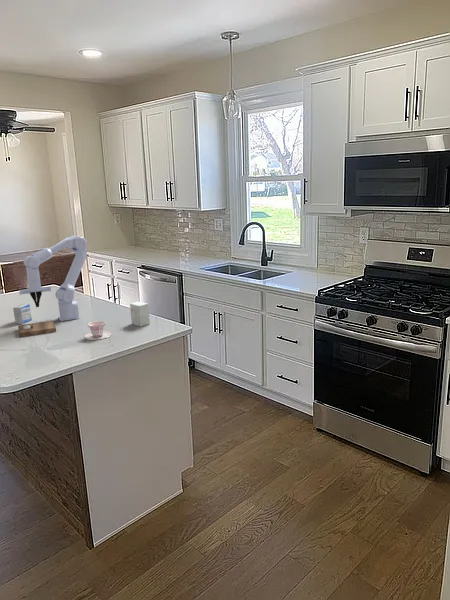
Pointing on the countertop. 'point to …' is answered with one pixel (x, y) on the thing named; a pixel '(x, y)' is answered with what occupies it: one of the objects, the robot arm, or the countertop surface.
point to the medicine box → (22, 314)
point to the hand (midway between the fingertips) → (37, 306)
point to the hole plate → (37, 328)
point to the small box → (139, 313)
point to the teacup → (97, 331)
